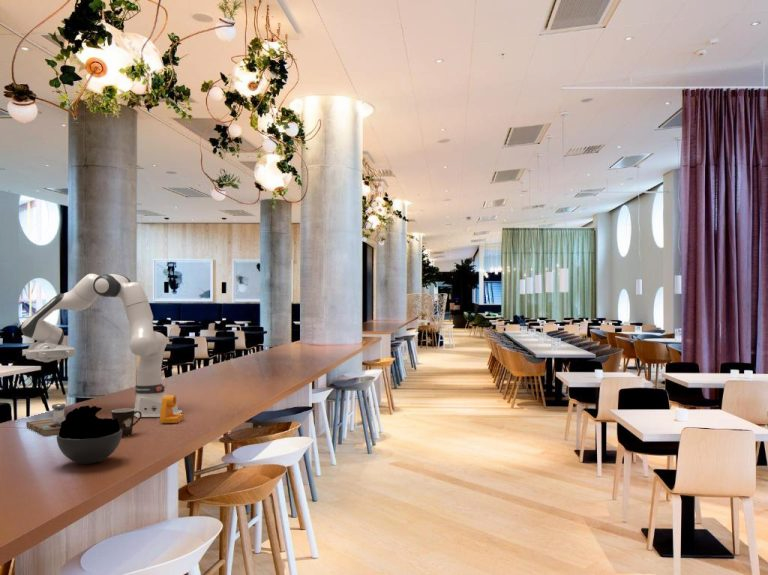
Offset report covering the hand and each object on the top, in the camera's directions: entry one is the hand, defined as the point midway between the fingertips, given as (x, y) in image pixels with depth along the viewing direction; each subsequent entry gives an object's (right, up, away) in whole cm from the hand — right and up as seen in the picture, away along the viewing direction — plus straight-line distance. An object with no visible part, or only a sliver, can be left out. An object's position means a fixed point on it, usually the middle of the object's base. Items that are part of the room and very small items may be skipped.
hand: (56, 354), depth 282 cm
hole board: (+9, -30, -18) cm, 36 cm away
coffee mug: (+44, -30, -30) cm, 61 cm away
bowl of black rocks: (+49, -29, -72) cm, 92 cm away
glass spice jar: (+13, -30, -23) cm, 40 cm away
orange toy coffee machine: (+54, -30, -4) cm, 62 cm away
